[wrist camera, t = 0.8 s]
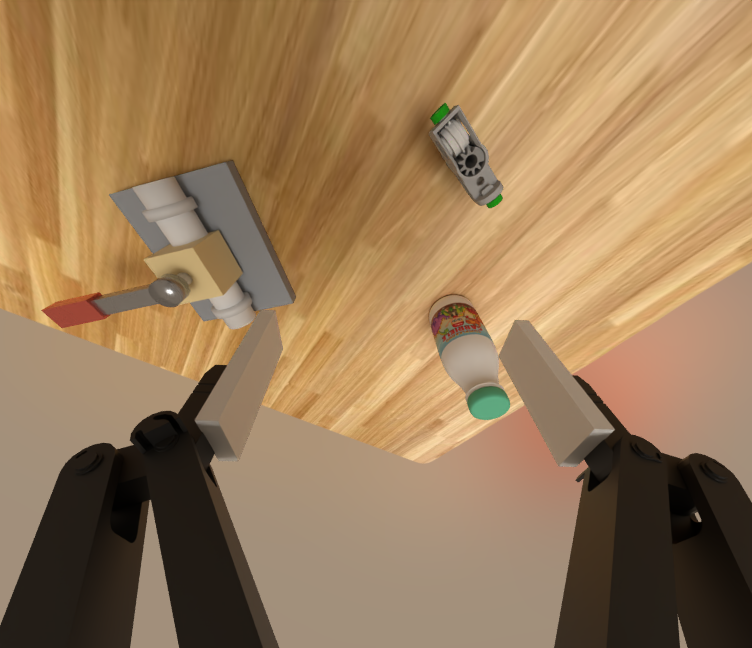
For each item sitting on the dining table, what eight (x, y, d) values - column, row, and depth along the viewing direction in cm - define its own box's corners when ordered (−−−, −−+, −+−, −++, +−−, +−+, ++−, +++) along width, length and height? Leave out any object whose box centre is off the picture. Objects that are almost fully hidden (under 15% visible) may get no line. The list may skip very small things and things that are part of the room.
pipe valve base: (120, 191, 35) (38, 212, 26) (232, 160, 33) (183, 172, 24) (209, 314, 47) (172, 357, 38) (296, 296, 45) (277, 337, 36)
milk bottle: (479, 316, 48) (534, 413, 31) (440, 336, 50) (473, 435, 34) (460, 285, 44) (512, 377, 28) (420, 308, 46) (445, 405, 30)
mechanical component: (460, 195, 36) (485, 215, 28) (412, 125, 31) (425, 125, 23) (479, 177, 34) (512, 193, 26) (432, 102, 30) (455, 94, 22)
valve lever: (178, 270, 30) (167, 279, 28) (196, 295, 32) (186, 304, 30) (54, 299, 32) (37, 308, 30) (77, 320, 34) (63, 330, 32)
